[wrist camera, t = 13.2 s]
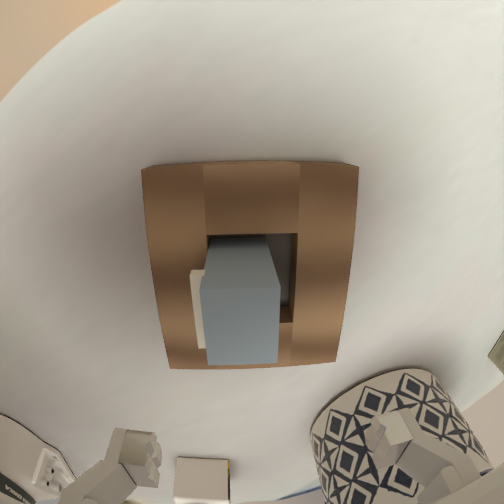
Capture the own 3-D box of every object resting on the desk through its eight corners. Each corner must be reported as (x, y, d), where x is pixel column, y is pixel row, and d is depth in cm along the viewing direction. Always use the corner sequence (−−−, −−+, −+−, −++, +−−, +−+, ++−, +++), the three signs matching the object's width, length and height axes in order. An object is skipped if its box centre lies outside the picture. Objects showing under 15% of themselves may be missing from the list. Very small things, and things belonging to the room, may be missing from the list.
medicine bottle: (229, 479, 36) (231, 544, 25) (183, 476, 36) (178, 541, 25) (229, 458, 34) (230, 533, 23) (176, 456, 33) (168, 529, 22)
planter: (357, 462, 37) (383, 545, 22) (278, 432, 32) (296, 552, 17) (452, 393, 33) (503, 473, 18) (402, 340, 28) (481, 460, 13)
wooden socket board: (326, 341, 27) (335, 361, 24) (175, 347, 26) (170, 368, 24) (343, 162, 21) (358, 166, 19) (153, 165, 21) (141, 169, 18)
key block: (265, 236, 22) (280, 286, 15) (265, 296, 24) (277, 362, 17) (201, 238, 22) (185, 289, 15) (206, 298, 24) (196, 365, 17)
